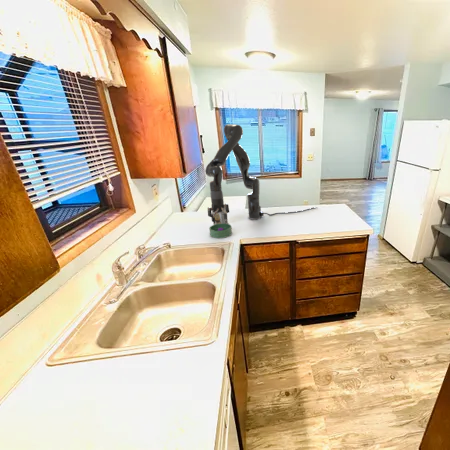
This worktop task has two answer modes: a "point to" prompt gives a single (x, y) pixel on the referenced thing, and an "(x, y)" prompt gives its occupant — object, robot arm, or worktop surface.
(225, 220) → the coffee box
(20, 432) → the worktop surface
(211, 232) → the bowl
